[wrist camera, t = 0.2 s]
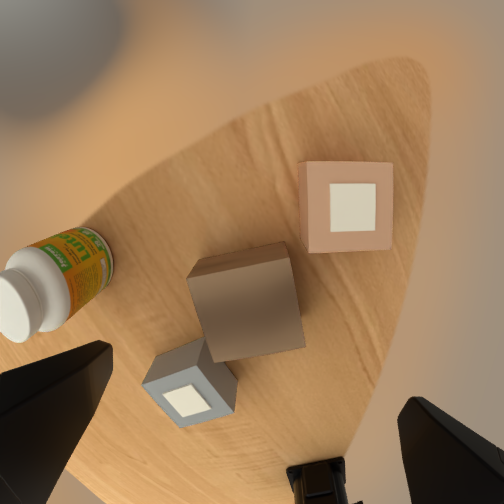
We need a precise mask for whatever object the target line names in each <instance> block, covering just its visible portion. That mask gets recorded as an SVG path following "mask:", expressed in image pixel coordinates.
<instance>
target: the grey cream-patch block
mask: <svg viewBox="0 0 504 504" xmlns="http://www.w3.org/2000/svg"><path fill="white" fill-rule="evenodd" d="M237 383H238V381H237V380H236V378H235V377H234V375H233V374H232V373H231V371H230V370H229V369H228V367H227V366H226V364H225V363H224V362H217V363H214V361H213V359H212V356H211V353H210V350H209V347H208V344H207V342H206V339H205V336H204V337H202V338H200V339H197V340H195V341H193V342H190V343H188V344H186V345H183V346H181V347H178V348H176V349H174V350H171V351H169V352H166V353H164V354H161V355H159V356H156V357H155V359H154V361H153V363H152V365H151V367H150V369H149V371H148V373H147V375H146V377H145V379H144V381H143V383H142V384H141V385H142V387H143V388H144V389H145V390H146V391H147V393H148V394H149V395H150V396H151V397H152V398H153V399H154V401H155V402H156V403H157V404H158V405H159V406H160V407H161V408H162V409H163V411H164V412H165V413H166V414H167V415H168V416H169V417H170V418H171V419H172V420H173V421H174V422H175V423H176V424H177V425H178V426H179V428H183V427H186V426H190V425H194V424H198V423H202V422H205V421H209V420H212V419H216V418H219V417H223V416H226V415H229V414H232V413H234V411H235V401H236V392H237Z"/></svg>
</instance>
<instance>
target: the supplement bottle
mask: <svg viewBox="0 0 504 504" xmlns="http://www.w3.org/2000/svg"><path fill="white" fill-rule="evenodd" d="M112 273H113V259H112V255H111V251H110V249H109V247H108V245H107V243H106V242H105V240H104V239H103V238H102V237H101V236H100V235H99V234H98V233H97V232H95V231H93V230H92V229H89V228H85V227H77V228H73V229H70V230H67V231H64V232H62V233H59V234H56V235H54V236H51V237H49V238H46V239H44V240H42V241H39V242H36V243H34V244H32V245H29V246H27V247H25V248H22V249H20V250H18V251H17V252H16V253H14V254H13V255H12V256H11V257H10V259H9V261H8V262H7V265H6V268H5V270H4V271H2V272H0V332H1V333H2V334H3V335H4V336H5V337H7V338H8V339H10V340H11V341H13V342H17V343H22V342H25V341H26V340H27V339H29V338H30V337H31V336H33V335H34V334H35V333H36V332H37V331H41V332H50V331H53V330H55V329H57V328H59V327H60V326H61V325H63V324H64V323H65V322H66V321H67V320H68V319H69V318H71V317H72V316H73V315H74V314H75V313H76V312H78V311H79V310H80V309H81V308H82V307H83V306H84V305H85V304H87V303H88V302H89V301H90V300H91V299H93V298H94V297H95V296H96V295H97V294H99V293H100V292H101V291H102V290H103V289H104V288H105V287H106V286H107V285H108V283H109V282H110V280H111V277H112Z"/></svg>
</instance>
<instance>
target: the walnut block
mask: <svg viewBox="0 0 504 504" xmlns="http://www.w3.org/2000/svg"><path fill="white" fill-rule="evenodd" d="M186 280H187V283H188V286H189V290H190V293H191V296H192V299H193V302H194V306H195V309H196V312H197V315H198V318H199V321H200V324H201V327H202V330H203V333H204V336H205V339H206V342H207V344H208V347H209V350H210V353H211V356H212V359H213V361H214V363H217V362H224V361H231V360H238V359H244V358H250V357H256V356H262V355H268V354H273V353H279V352H284V351H289V350H294V349H299V348H304V347H306V344H305V338H304V332H303V326H302V321H301V315H300V310H299V304H298V299H297V294H296V288H295V283H294V278H293V273H292V268H291V262H290V257H289V254H288V251H287V248H286V245H285V242H279V243H275V244H270V245H265V246H260V247H256V248H251V249H246V250H242V251H237V252H232V253H227V254H223V255H218V256H213V257H209V258H204V259H199V260H198V261H197V263H196V264H195V266H194V267H193V269H192V270H191V272H190V274H189V275H188V277H187V278H186Z"/></svg>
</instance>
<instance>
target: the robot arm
mask: <svg viewBox="0 0 504 504" xmlns="http://www.w3.org/2000/svg"><path fill="white" fill-rule="evenodd" d="M112 371H113V348H112V345H111V344H110V343H107V342H104V341H101V340H97V341H94V342H91V343H88V344H85V345H83V346H80V347H77V348H74V349H71V350H68V351H65V352H63V353H60V354H57V355H54V356H51V357H48V358H45V359H42V360H39V361H36V362H33V363H30V364H27V365H24V366H21V367H18V368H15V369H12V370H9V371H6V372H2V373H1V374H0V504H46V502H47V500H48V498H49V496H50V495H51V493H52V491H53V489H54V487H55V485H56V483H57V481H58V479H59V477H60V475H61V473H62V472H63V470H64V468H65V466H66V464H67V462H68V460H69V459H70V457H71V455H72V453H73V451H74V449H75V448H76V446H77V444H78V442H79V440H80V439H81V437H82V435H83V433H84V432H85V430H86V428H87V426H88V425H89V423H90V421H91V419H92V417H93V416H94V414H95V411H96V409H97V407H98V405H99V402H100V400H101V397H102V395H103V393H104V390H105V388H106V386H107V383H108V381H109V379H110V377H111V374H112ZM397 421H398V422H397V423H398V429H399V437H400V443H401V451H402V459H403V464H404V469H405V473H406V478H407V482H408V487H409V492H410V497H411V502H412V504H504V451H503V450H502V449H500V448H499V447H496V446H495V445H494V444H492V443H491V442H489V441H488V440H486V439H485V438H483V437H481V436H480V435H479V434H477V433H475V432H474V431H472V430H471V429H469V428H468V427H466V426H465V425H463V424H462V423H460V422H459V421H457V420H456V419H454V418H453V417H451V416H450V415H448V414H447V413H445V412H444V411H442V410H441V409H439V408H438V407H436V406H435V405H434V404H432V403H431V402H429V401H428V400H426V399H425V398H423V397H411V398H409V399H408V401H407V402H406V404H405V406H404V407H403V409H402V410H401V412H400V414H399V416H398V419H397ZM286 473H287V476H288V479H289V482H290V485H291V488H292V491H293V493H294V499H295V504H348V500H347V495H346V491H345V485H344V484H345V483H346V479H345V460H344V458H342V457H341V458H336V459H332V460H327V461H323V462H318V463H312V464H307V465H301V466H295V467H289V468H287V469H286ZM354 504H363V502H362V501H359V502H357V503H354Z"/></svg>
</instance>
